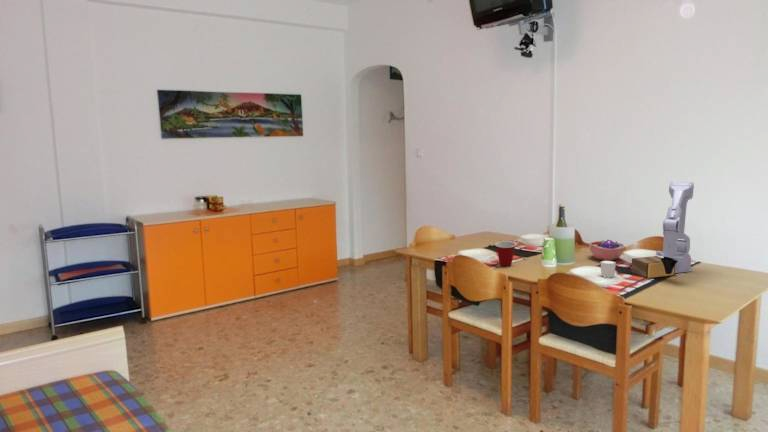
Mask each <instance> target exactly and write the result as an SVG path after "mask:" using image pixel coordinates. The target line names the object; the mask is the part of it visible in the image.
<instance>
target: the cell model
mask: <svg viewBox="0 0 768 432" xmlns="http://www.w3.org/2000/svg"><path fill="white" fill-rule="evenodd" d="M588 248H589V249H588V250H589V251H590V253H591V254H592V256H594V257H595V258H596V259H597V260H602V261H614V260H617V259H618V258H620V257H621V256H622V255H623V254H624V250H625V248H626V247H625V245H624V244H623V243H621V242H618V241H613V240H611V239H607V240H597V241H594V242H589V247H588Z"/></svg>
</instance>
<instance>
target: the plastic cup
mask: <svg viewBox="0 0 768 432" xmlns="http://www.w3.org/2000/svg"><path fill="white" fill-rule="evenodd" d="M516 246H517V243H516V242H513V241H508V240H507V241H506V240H505V241H498V242H496V243H495V247H496V250H497V257H498V261H499V262H498V263H499V265H500V267H503V268H505V267H507V268H508V267H511V266H512V264H513V258H514V252H515V250H516V249H515V248H516Z"/></svg>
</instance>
